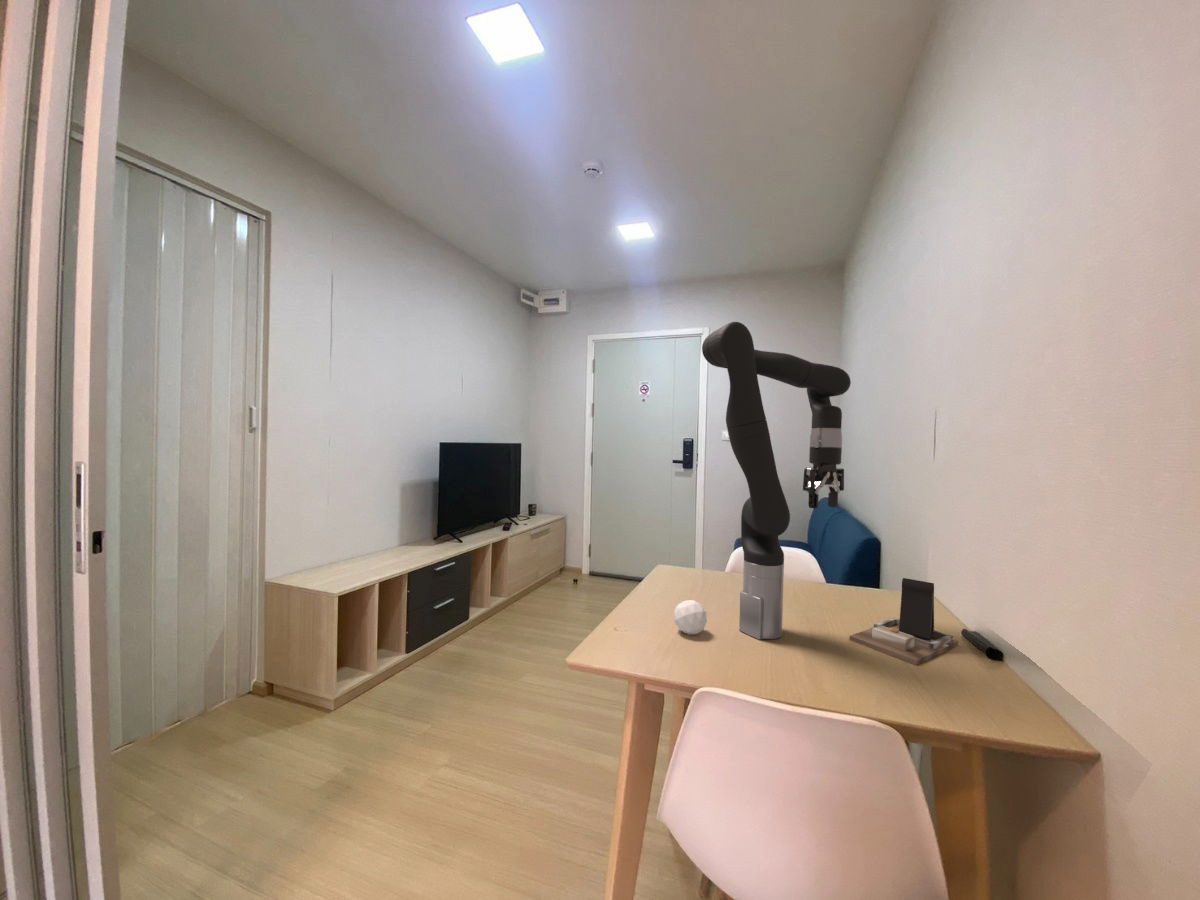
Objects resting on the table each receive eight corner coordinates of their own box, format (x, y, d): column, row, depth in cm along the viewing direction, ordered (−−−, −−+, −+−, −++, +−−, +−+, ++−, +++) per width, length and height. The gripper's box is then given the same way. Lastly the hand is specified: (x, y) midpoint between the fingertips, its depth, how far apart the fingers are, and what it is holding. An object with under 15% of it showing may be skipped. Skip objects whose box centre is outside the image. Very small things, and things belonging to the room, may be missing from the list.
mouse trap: (916, 665, 93) (916, 647, 93) (849, 639, 105) (849, 624, 105) (958, 645, 103) (958, 629, 103) (893, 624, 115) (893, 610, 115)
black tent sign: (930, 640, 100) (931, 587, 100) (898, 633, 104) (899, 582, 104) (934, 629, 107) (935, 579, 107) (904, 622, 111) (905, 574, 111)
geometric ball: (690, 647, 105) (681, 627, 101) (672, 624, 112) (664, 603, 108) (716, 630, 106) (709, 609, 102) (697, 607, 113) (690, 587, 109)
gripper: (828, 446, 124) (825, 505, 124) (795, 444, 116) (793, 506, 116) (855, 447, 117) (852, 508, 117) (822, 445, 110) (820, 510, 110)
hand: (823, 507), depth 117 cm, fingers open, 8 cm apart
